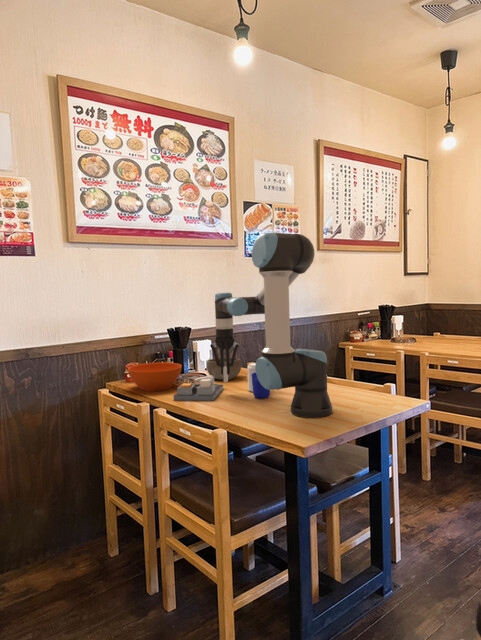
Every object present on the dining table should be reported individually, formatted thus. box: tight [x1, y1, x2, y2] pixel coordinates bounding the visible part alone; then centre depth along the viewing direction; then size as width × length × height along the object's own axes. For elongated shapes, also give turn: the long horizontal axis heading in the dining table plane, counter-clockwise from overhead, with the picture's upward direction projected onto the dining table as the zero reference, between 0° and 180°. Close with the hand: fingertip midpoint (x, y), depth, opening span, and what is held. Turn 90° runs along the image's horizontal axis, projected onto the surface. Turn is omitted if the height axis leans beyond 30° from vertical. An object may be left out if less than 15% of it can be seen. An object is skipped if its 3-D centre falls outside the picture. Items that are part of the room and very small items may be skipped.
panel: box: [172, 383, 224, 402], centre depth 201 cm, size 22×17×5 cm
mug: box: [252, 373, 271, 400], centre depth 191 cm, size 8×12×10 cm
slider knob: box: [205, 376, 215, 385], centre depth 202 cm, size 4×3×5 cm
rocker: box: [193, 375, 212, 383], centre depth 209 cm, size 3×8×1 cm, turn 81°
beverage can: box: [247, 362, 256, 393], centre depth 205 cm, size 8×8×12 cm
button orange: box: [180, 382, 193, 388], centre depth 195 cm, size 4×4×4 cm
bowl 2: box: [206, 356, 242, 381], centre depth 235 cm, size 17×18×10 cm
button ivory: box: [199, 379, 211, 388], centre depth 194 cm, size 4×4×4 cm
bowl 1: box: [127, 362, 183, 392], centre depth 218 cm, size 25×25×10 cm
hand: (225, 381), depth 201 cm, fingers closed
